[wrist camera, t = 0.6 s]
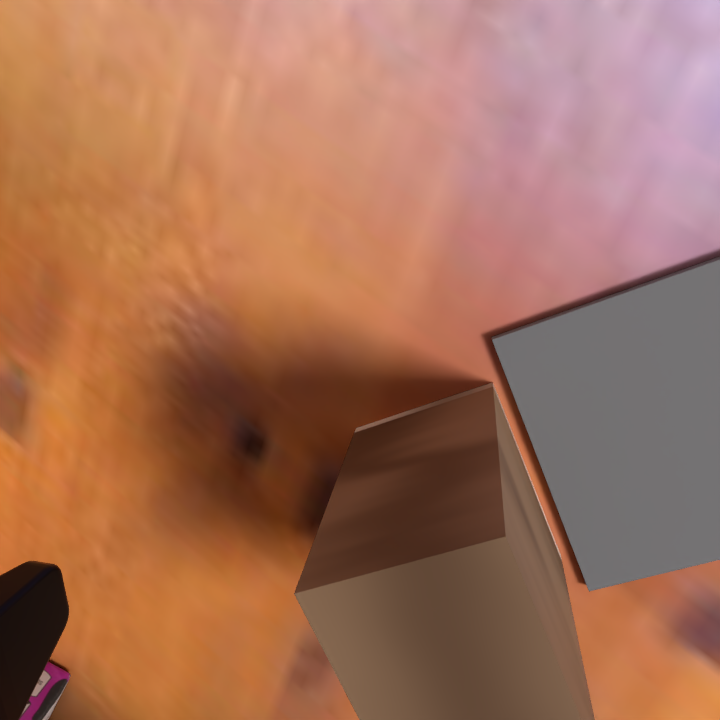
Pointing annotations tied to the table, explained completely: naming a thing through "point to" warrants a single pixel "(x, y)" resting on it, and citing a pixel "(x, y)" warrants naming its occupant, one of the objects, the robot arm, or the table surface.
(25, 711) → the candy bar box
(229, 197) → the table surface
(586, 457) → the mat
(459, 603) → the walnut block
